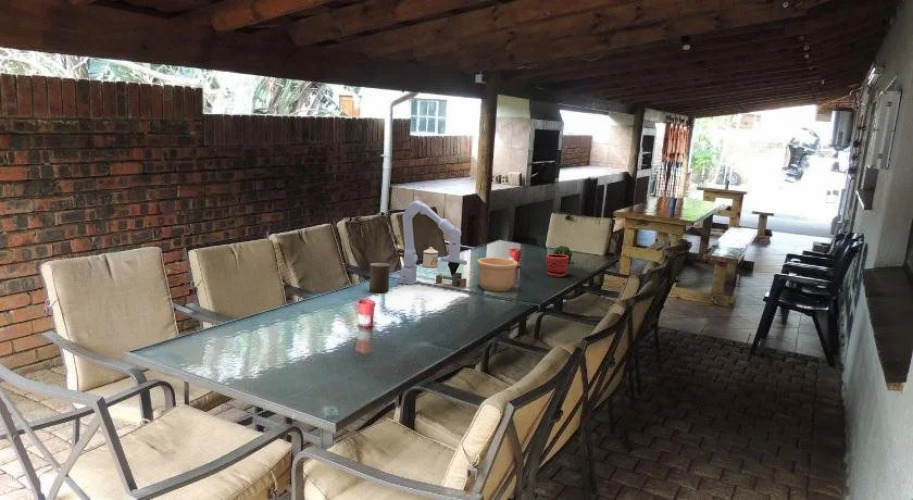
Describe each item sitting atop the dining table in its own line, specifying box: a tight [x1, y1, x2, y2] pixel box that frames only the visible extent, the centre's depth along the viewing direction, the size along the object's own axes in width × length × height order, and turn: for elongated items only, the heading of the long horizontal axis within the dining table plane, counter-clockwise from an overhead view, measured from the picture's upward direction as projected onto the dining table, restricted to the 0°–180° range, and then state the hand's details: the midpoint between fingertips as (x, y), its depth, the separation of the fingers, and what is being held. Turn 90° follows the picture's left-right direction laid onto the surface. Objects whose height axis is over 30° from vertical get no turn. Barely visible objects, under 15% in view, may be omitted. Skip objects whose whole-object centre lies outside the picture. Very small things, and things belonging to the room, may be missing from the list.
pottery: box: [476, 256, 519, 292], centre depth 350 cm, size 22×22×14 cm
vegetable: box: [552, 245, 573, 265], centre depth 426 cm, size 12×13×15 cm
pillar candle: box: [369, 262, 390, 294], centre depth 329 cm, size 10×10×15 cm
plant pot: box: [545, 253, 569, 278], centre depth 389 cm, size 13×13×12 cm
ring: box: [451, 272, 463, 287], centre depth 348 cm, size 2×6×6 cm, turn 153°
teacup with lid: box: [422, 246, 439, 269], centre depth 396 cm, size 12×9×12 cm
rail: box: [433, 273, 468, 290], centre depth 350 cm, size 17×6×5 cm, turn 63°
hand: (453, 276), depth 349 cm, fingers closed
